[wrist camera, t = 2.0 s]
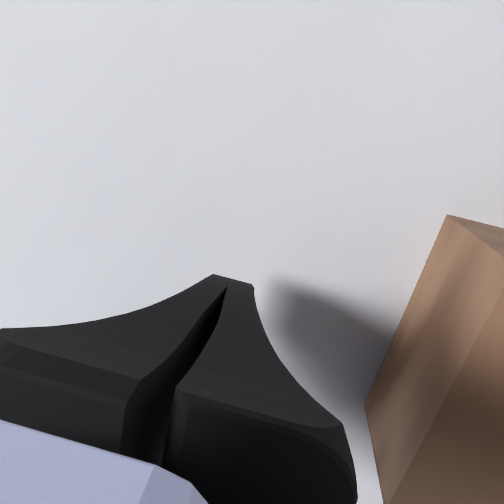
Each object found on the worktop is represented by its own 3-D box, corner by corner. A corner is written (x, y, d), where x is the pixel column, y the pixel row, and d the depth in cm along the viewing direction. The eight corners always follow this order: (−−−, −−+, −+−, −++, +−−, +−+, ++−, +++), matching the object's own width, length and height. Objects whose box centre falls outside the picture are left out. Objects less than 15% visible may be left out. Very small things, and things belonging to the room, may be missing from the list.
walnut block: (488, 436, 15) (557, 561, 11) (363, 401, 15) (385, 511, 11) (601, 252, 12) (755, 327, 8) (445, 212, 12) (515, 266, 8)
